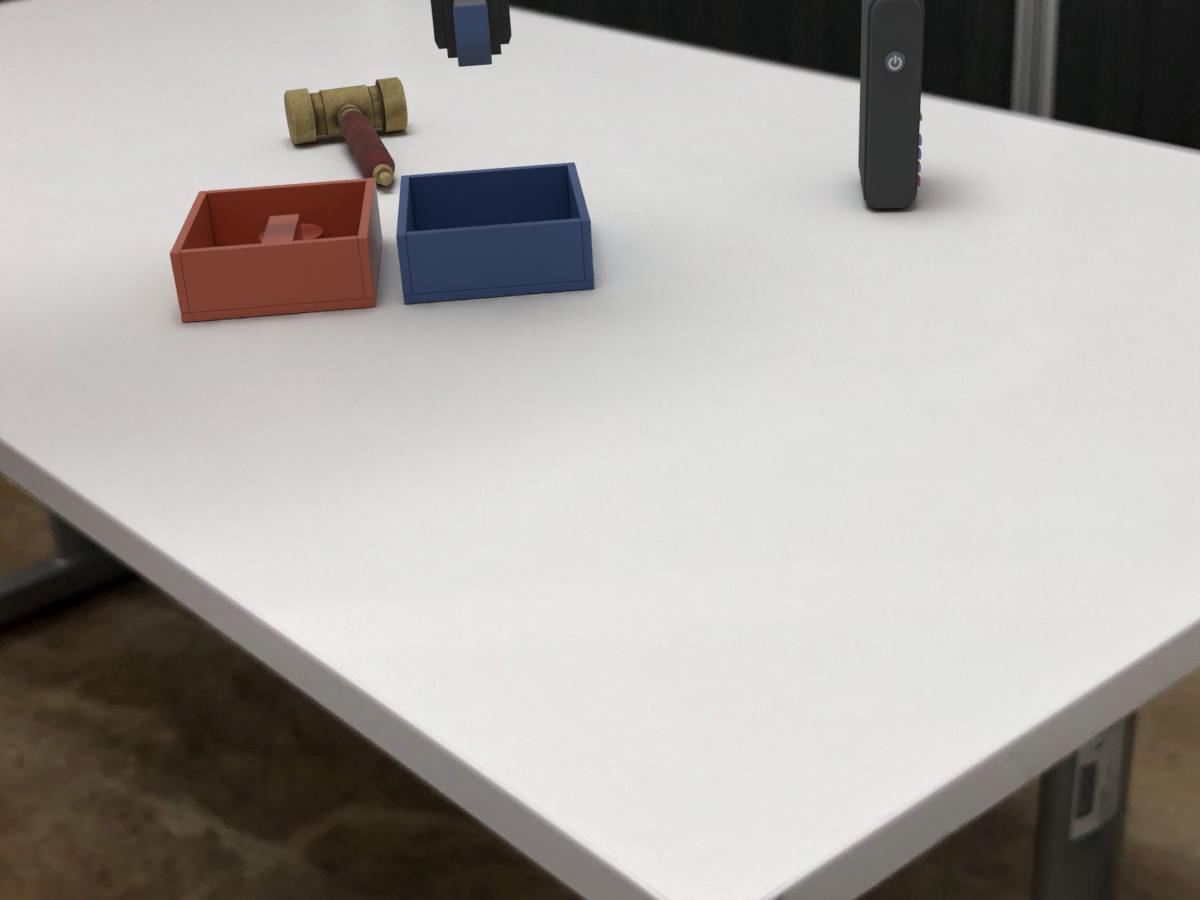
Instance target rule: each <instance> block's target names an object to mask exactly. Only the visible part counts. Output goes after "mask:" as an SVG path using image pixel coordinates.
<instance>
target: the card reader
mask: <svg viewBox="0 0 1200 900" xmlns="http://www.w3.org/2000/svg"><path fill="white" fill-rule="evenodd" d="M925 13H926V7H925V2H924V0H861V24H860V25H861V27H860V29H861V30H860V32H861V33H860V68H859V69H860V72H859V73H860V74H859V75H860V76H859V112H858V113H859V117H858V122H859V123H858V159H857V160H858V161H857V163H858V164H857V165H858V172H859V178H860V184H861V189H862V195H863V200H864V201H865V203H866V205H868V206H869V207H870V208H873V209H904V208H905V209H906V208H907V207H909V206H911V205H912V204H913V203H914V202H915V200H916V199H917V194H918V187H920V186H921V177H920V174H919V173H921V172H922V165H921V164H922V163H921V161H920V160H922V155H923V154H922V150H921V149H922V148H921V147H920V146H922V145H923V137H922V134H921V133H920V131H921V130H920V128H921V122H922V121H923V114H922V112H921V103H922V83H923V81H922V80H923V59H924V58H923V57H924V32H925Z"/></svg>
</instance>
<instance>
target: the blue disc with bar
mask: <svg viewBox="0 0 1200 900" xmlns="http://www.w3.org/2000/svg"><path fill="white" fill-rule="evenodd" d="M453 15H454V25H455V35H456V46H457V56H458V58H457V65H458V67H460V68H462V67H474V66H475V67H476V66H490V65H492V64H493V57H492V56H493V55H491V43H490V32H489V20H488V9H487V0H453Z"/></svg>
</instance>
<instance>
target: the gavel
mask: <svg viewBox="0 0 1200 900" xmlns="http://www.w3.org/2000/svg"><path fill="white" fill-rule="evenodd" d="M283 95H284V96H283V102H284V111H285V118H286V123H287V129H288V133H289V137H290V139H291V140H290V141H291V142H292V143H293V144H294V145H300V144H301V145H302V144H306V143H307V144H308V143H315V142H316V141H317V137H318V136H326V137H333V136H341V135H342V136H343V137H344V140H345V142H346V144H347V145H348V147H349V149H350V150H351V153H352V154H353V156H354V158H355V160H356V162H357V164H358V165H359V168H360V169H361V171H362V173H363V174H364V176H365V177H366V179H367V178H375V181H376V184H378V185H383V186H390V185H391V184H392V182H393V179H394V173H395V171H396V163H395V160H394V159H393V157H392V155H391V154H390V152H389V151H388V149H387V147H386V146H385V144H384V142H383V140H382V139H381V137H380V136H379V134H378V133H377V131H376V129H380V128H381V129H382V131H383V133H391V132H400V131H405V130H406V129H407V127H408V125H409V124H408V122H409V113H408V105H407V98H406V94H405V90H404V86H403V83H402V81H401V79H399V77H397V76H395V77H387V78H378V79H376V80H375V85H367V84H360V85H351V86H350V85H349V86H344V87H335V88H326V89H320V90H319V91H318V92H310V91H309V89H308V88H307V87H305V88H296V89H295V88H294V89H288V90H285V92H284V94H283Z"/></svg>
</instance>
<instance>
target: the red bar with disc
mask: <svg viewBox="0 0 1200 900" xmlns="http://www.w3.org/2000/svg"><path fill="white" fill-rule="evenodd" d="M323 238H324V232H323V229H322V228H321V227H320V226H317V225H314V224H306V223H301V221H300V215H299V214H292V215H279V216H270V217H269V220H268V224H267V227H266V230H265V231H263V232H262V233H260V235H259V236H258V240H259V244H260V243H272V242H285V241H298V240H310V239H323Z"/></svg>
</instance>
